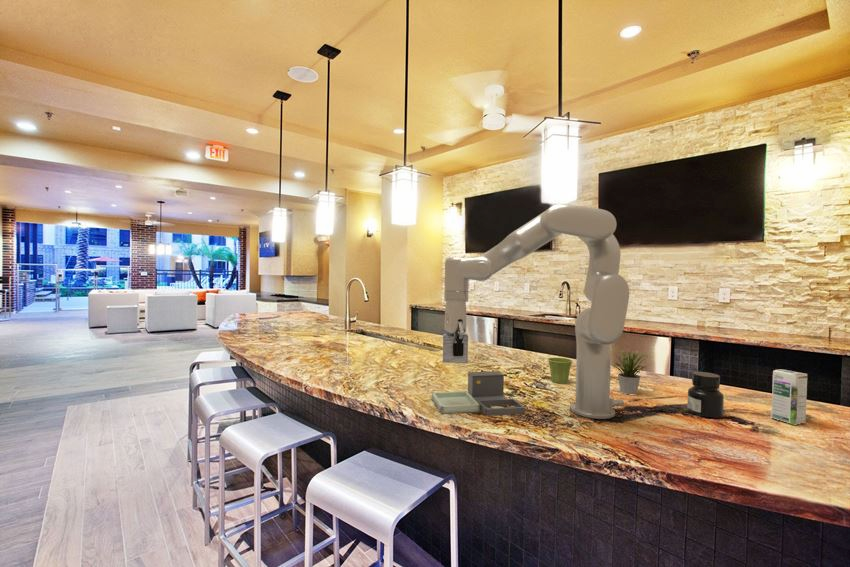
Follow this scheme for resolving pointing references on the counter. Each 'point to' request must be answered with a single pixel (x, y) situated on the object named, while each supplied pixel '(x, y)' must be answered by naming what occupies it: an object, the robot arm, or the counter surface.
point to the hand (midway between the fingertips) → (455, 353)
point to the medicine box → (448, 349)
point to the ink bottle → (705, 395)
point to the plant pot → (559, 369)
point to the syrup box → (789, 396)
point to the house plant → (629, 372)
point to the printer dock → (491, 393)
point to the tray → (455, 402)
